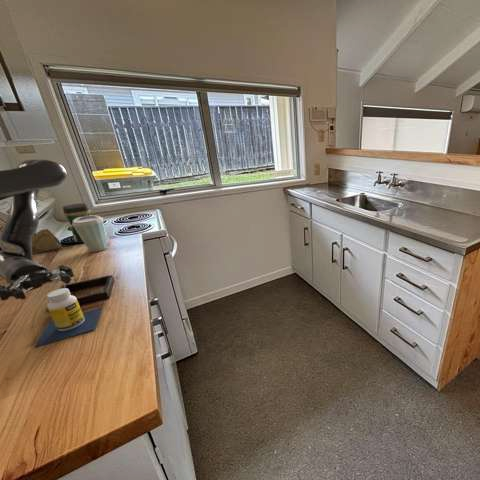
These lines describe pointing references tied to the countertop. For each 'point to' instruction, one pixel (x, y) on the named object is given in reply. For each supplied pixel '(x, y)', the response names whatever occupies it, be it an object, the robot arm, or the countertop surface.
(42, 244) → the rock
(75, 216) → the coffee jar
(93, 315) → the mat
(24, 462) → the countertop surface
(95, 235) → the disposable coffee cup
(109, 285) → the dark serving tray
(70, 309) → the supplement bottle
